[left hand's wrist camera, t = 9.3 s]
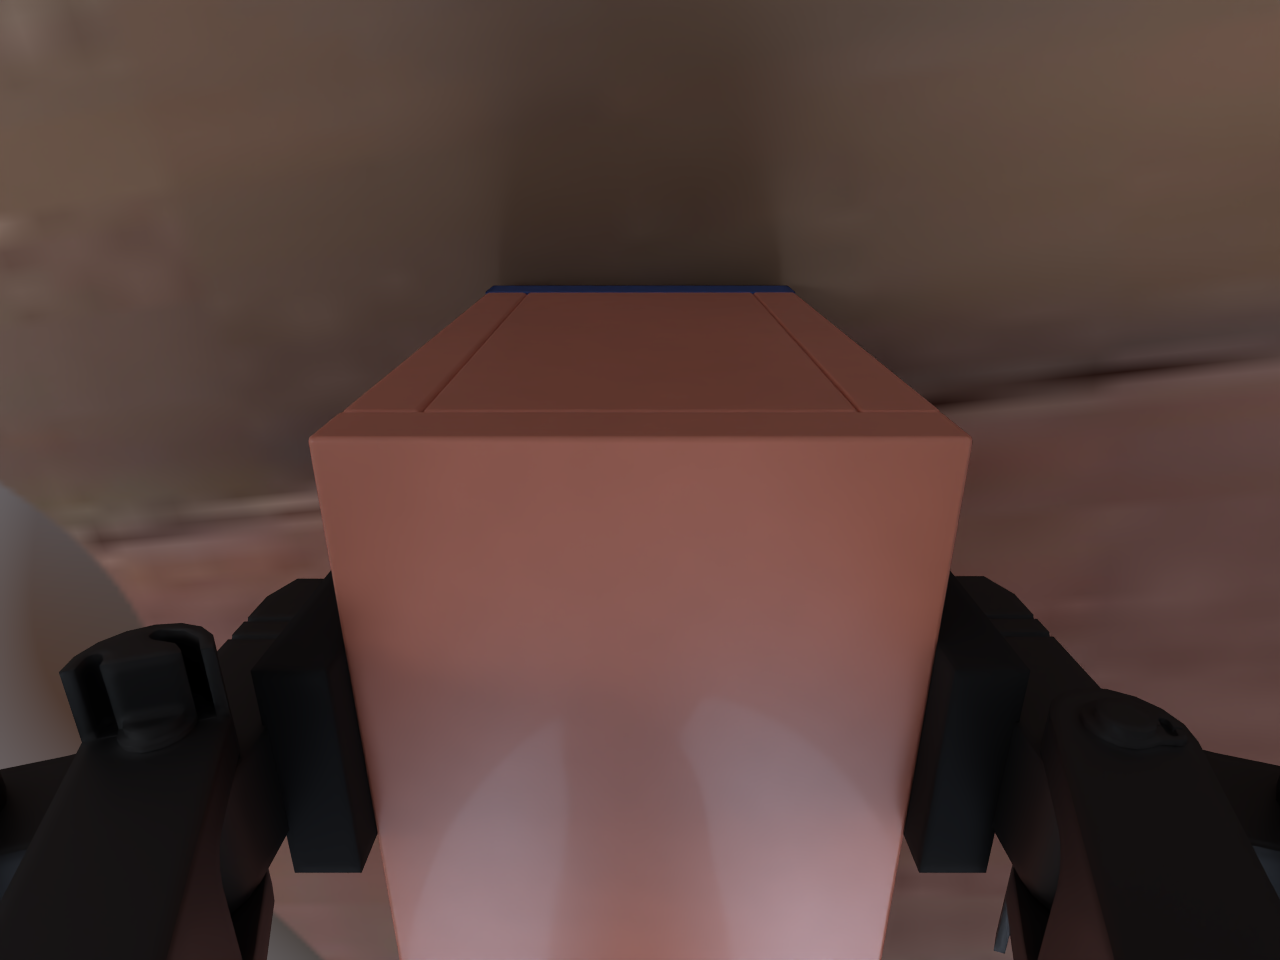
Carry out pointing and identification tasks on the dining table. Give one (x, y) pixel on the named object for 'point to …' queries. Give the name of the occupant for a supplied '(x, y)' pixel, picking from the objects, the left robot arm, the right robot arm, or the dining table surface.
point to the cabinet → (640, 624)
